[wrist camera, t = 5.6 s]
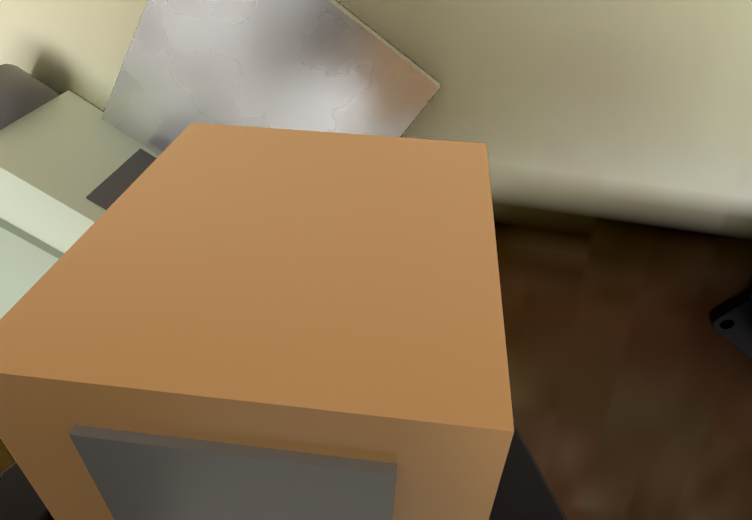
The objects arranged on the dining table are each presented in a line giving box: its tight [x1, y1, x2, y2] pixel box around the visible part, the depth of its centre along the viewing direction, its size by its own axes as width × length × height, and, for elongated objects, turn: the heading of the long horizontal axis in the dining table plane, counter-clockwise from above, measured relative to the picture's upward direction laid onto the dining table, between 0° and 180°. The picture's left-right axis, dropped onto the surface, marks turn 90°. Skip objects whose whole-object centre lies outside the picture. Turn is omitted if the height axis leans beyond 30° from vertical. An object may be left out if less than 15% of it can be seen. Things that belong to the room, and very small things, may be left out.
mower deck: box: [0, 64, 159, 319], centre depth 22 cm, size 15×12×5 cm
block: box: [0, 122, 514, 520], centre depth 9 cm, size 8×4×5 cm, turn 179°
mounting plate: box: [101, 0, 440, 156], centre depth 19 cm, size 9×8×1 cm
